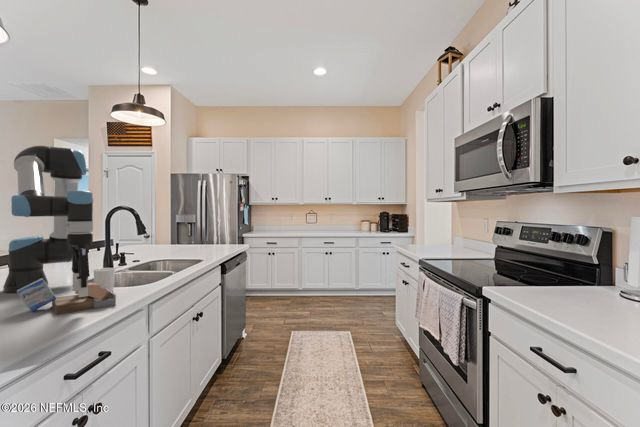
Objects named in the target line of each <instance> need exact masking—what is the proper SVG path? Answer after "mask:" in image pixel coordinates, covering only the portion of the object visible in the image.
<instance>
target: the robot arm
mask: <svg viewBox="0 0 640 427" xmlns="http://www.w3.org/2000/svg"><path fill="white" fill-rule="evenodd" d="M13 167H14V168H13V169H14V170H15V171H16V173H17V194H18V195H17V194H15V195H12V196H11V200H10V201H11V214H12V216H14V217H25V218H28V217H30V218H31V217H33V218H34V217H35V218H36V217H53V231H52V232H51V233H49V238H44V236H43V235H36V236H27V237H26V236H25V237H20V238H15V239H12V240H10V242H9V243H8V250H7V252H8V274H7V277H6V279H5V282H4V285H3V287H2V288H3V289H2V290H3V292H4V293H17V290H18V289H21V288H23V287H25V286H27V285H29V284H31V283H33V282H35V281H37V280H39V279H41V278H43V279H44V281H45V282H46V283H47V285H48V286H49V281H48V278H47V275H46V274H45V272H44V265H45V264H46V265H47V264H59V263H60V264H61V263H71V271H72V292H75V291H78V294H77V295H78V297H84V296H88V283H89V277H90V275H91V274H90V266H89V248H87V247H86V245H90V244H93V241H94V239H93V236H94V235H93V231H94V221H93V219H94V218H93V212H94V211H93V208H94V207H93V206H94V205H93V204H94V198H93V192H92V191H89V190H78V187H79V186H78V184H79V182H80V181H81V180H82V178H83V176H85V175H87V164H86V158H85V154H84V153H83V151H82V150H80V149H75V148H70V147H69V148H67V147H58V146H57V147H55V146H47V145H32V146H29V147H26V148H25V149H23V150H22V151H20V152H19V153H18V154H16V156H15V157H14V160H13ZM43 173H47V174H50V175H49V176H50V178H51V179H52V180H53V181H54V193H53V194H54V195H45V194H46V193H45V186H44V179H43V178H44V177H43Z"/></svg>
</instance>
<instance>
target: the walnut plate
mask: <svg viewBox="0 0 640 427" xmlns="http://www.w3.org/2000/svg"><path fill="white" fill-rule="evenodd" d="M51 306H52V309H53V311H54V312H55V314H56V315H63V314H64V315H65V314H69V313H74V312H81V311H85V310H92V309H93V299H92V298H90V297H89V296H84V297H78V294H72V295H66V296H59V297H56V299H55V300H53V301H51Z"/></svg>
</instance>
